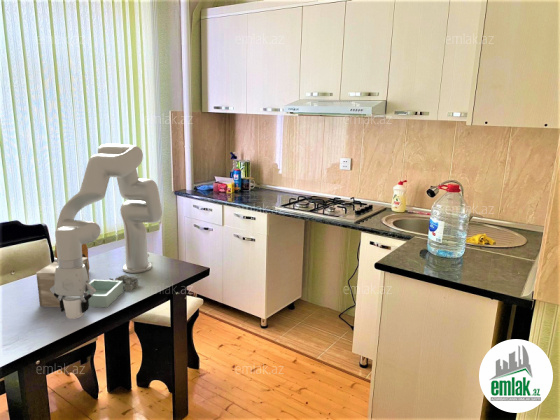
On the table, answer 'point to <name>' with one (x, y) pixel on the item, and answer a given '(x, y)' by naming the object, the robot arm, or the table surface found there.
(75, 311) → the shot glass
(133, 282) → the egg carton
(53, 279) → the beige wooden block
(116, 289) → the tray
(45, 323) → the table surface
